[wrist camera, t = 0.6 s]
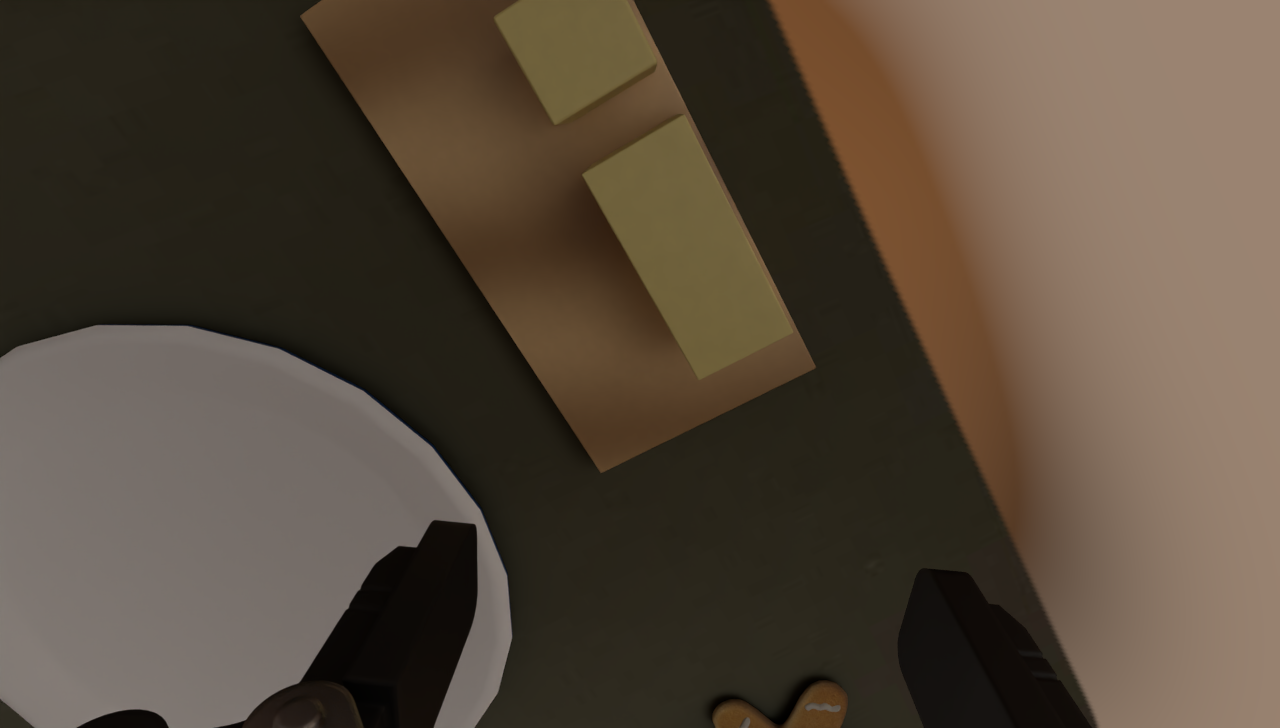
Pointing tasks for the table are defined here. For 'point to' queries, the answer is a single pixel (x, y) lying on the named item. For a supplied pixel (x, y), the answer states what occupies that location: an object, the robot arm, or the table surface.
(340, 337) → the table surface
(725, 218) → the butter
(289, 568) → the plate
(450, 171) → the cutting board
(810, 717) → the cookie
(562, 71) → the butter slice
